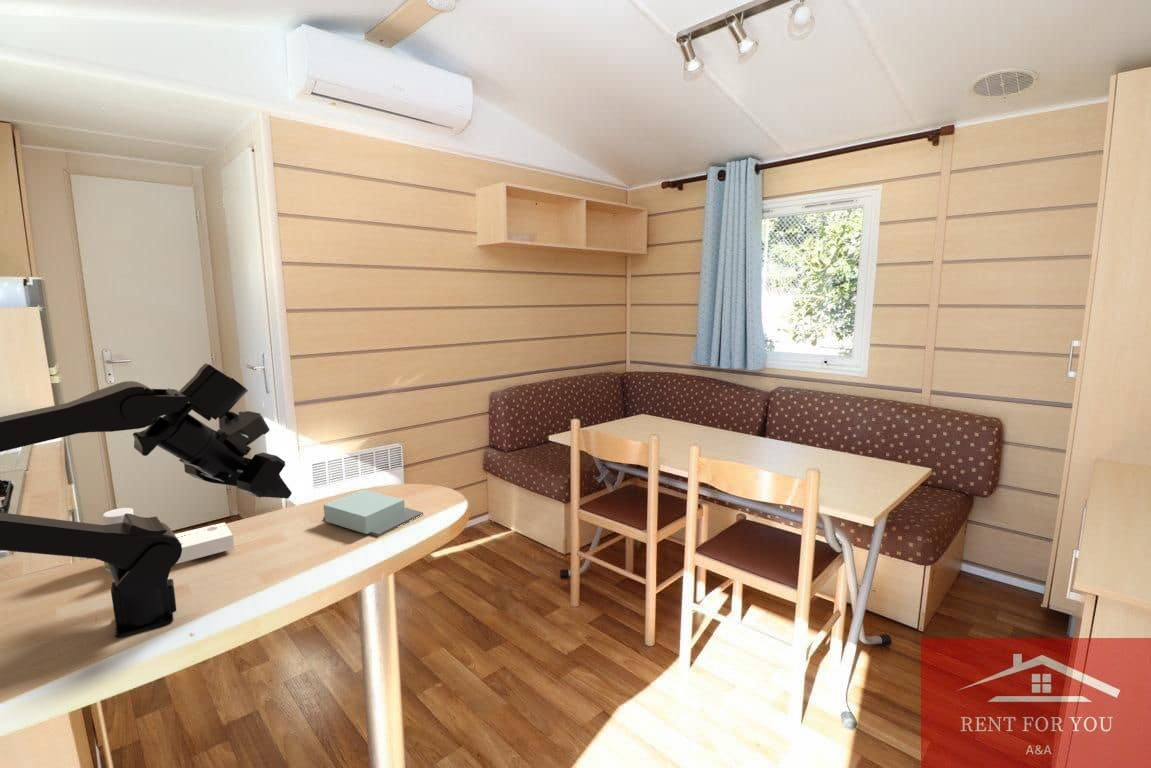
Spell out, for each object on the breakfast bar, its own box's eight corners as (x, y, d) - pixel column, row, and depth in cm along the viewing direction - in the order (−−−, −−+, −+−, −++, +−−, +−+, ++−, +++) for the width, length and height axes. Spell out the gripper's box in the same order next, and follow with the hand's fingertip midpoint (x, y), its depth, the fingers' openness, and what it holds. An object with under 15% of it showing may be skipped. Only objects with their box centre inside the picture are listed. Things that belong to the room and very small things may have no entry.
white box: (144, 577, 92) (138, 534, 91) (140, 561, 97) (134, 521, 96) (234, 553, 101) (230, 513, 100) (226, 539, 106) (222, 502, 105)
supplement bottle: (126, 574, 93) (118, 519, 92) (96, 572, 94) (88, 517, 92) (153, 558, 98) (146, 506, 97) (125, 557, 99) (117, 505, 97)
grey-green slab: (365, 516, 107) (404, 499, 116) (323, 504, 113) (363, 489, 121) (366, 533, 108) (404, 515, 116) (324, 521, 113) (364, 504, 122)
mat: (378, 536, 108) (378, 533, 108) (323, 519, 115) (323, 517, 115) (423, 515, 118) (423, 512, 118) (369, 500, 126) (369, 498, 126)
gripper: (267, 405, 82) (336, 457, 94) (196, 392, 91) (267, 442, 102) (217, 471, 77) (297, 518, 88) (147, 451, 86) (227, 496, 97)
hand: (272, 490), depth 94 cm, fingers open, 9 cm apart
